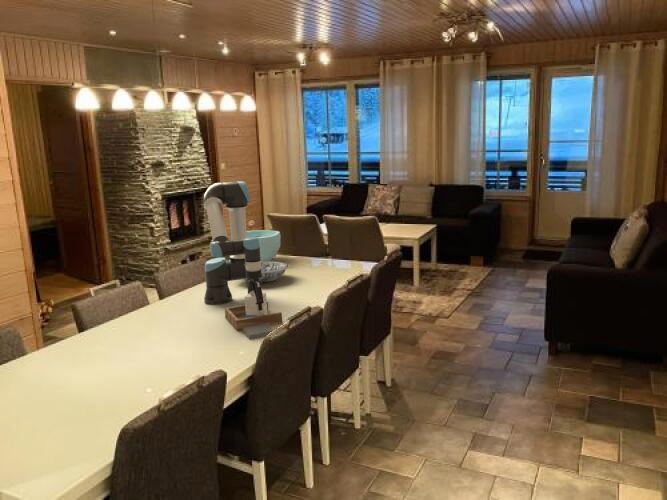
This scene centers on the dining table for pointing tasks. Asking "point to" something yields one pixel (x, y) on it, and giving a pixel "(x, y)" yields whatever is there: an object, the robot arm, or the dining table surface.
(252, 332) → the plinth
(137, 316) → the dining table surface
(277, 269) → the ceramic bowl
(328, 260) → the dining table surface
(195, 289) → the dining table surface
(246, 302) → the ink box
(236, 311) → the brown wooden shallow tray
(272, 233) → the bowl
